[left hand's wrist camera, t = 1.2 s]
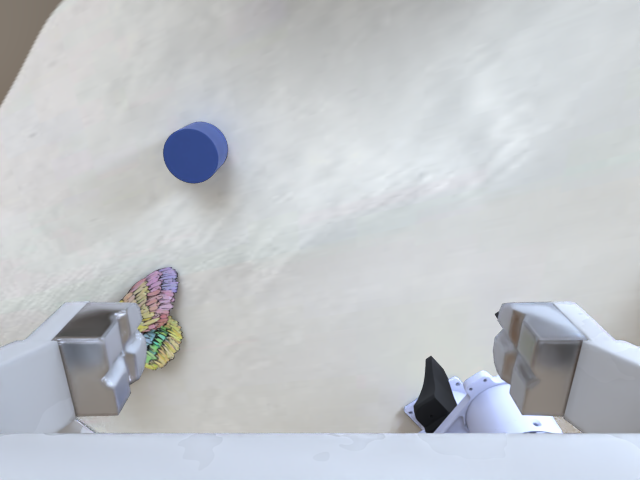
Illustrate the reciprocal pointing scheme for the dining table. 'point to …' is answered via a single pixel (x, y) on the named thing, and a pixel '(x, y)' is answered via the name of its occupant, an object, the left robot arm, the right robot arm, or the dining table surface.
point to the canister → (195, 152)
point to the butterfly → (157, 315)
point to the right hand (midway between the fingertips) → (468, 342)
